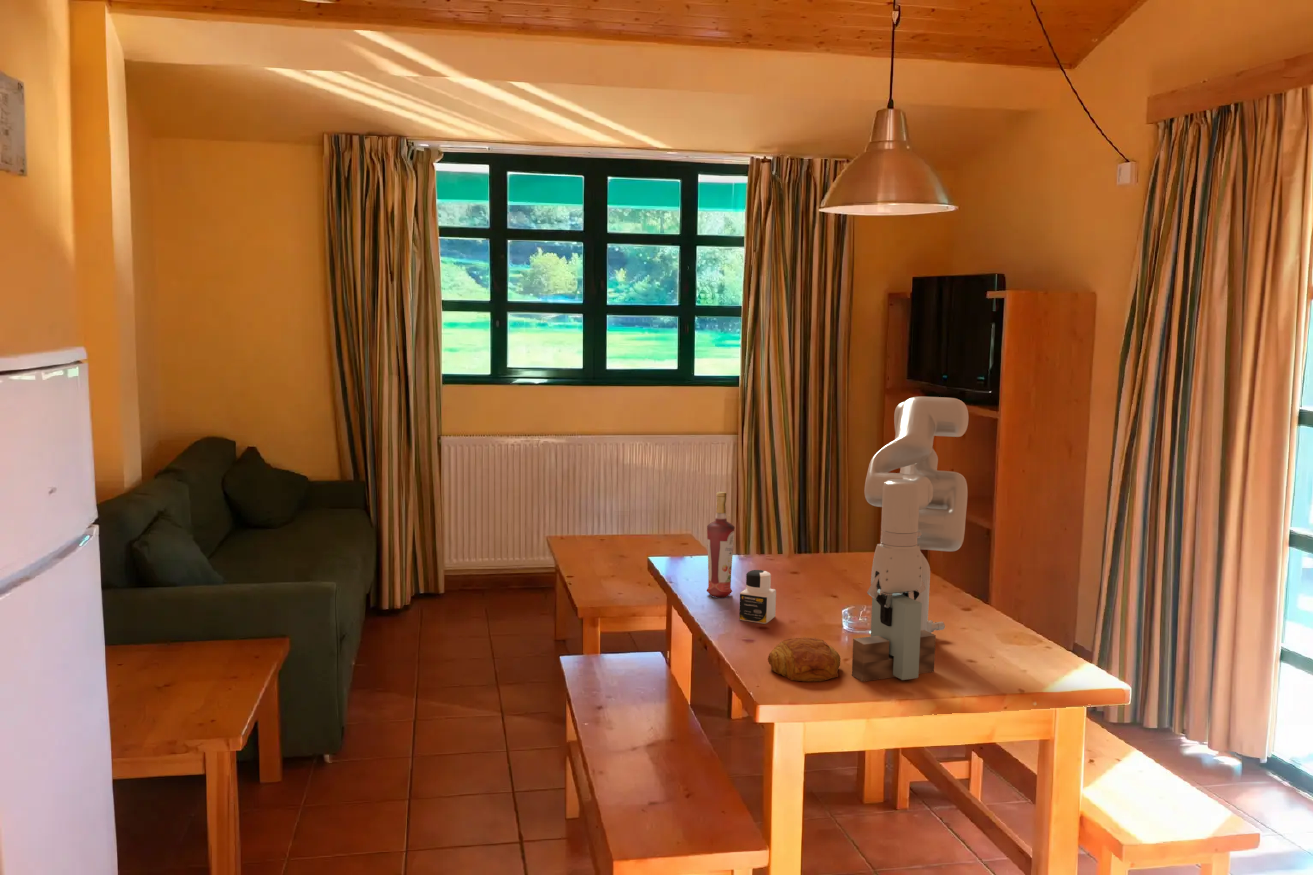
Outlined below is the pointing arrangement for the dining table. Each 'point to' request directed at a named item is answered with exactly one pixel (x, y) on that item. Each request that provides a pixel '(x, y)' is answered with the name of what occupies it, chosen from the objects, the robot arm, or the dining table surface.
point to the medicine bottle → (757, 598)
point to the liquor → (720, 551)
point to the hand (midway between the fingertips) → (895, 622)
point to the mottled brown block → (887, 657)
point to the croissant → (805, 659)
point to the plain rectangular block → (901, 633)
